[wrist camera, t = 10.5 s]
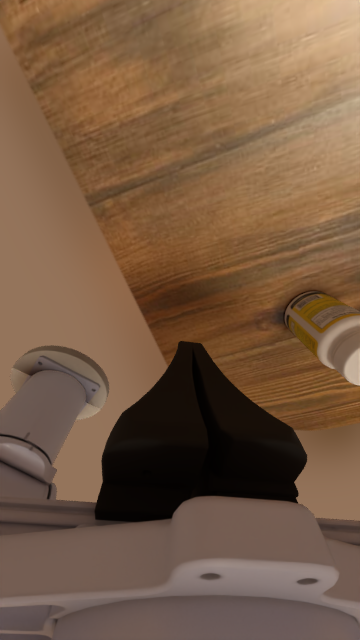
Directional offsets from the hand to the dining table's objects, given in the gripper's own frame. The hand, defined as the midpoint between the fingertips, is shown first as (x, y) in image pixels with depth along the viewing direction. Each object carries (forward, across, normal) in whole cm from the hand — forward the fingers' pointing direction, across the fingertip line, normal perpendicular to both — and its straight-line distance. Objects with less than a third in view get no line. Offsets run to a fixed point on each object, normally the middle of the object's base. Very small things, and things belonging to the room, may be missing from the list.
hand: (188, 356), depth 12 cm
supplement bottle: (+10, -13, 0) cm, 16 cm away
